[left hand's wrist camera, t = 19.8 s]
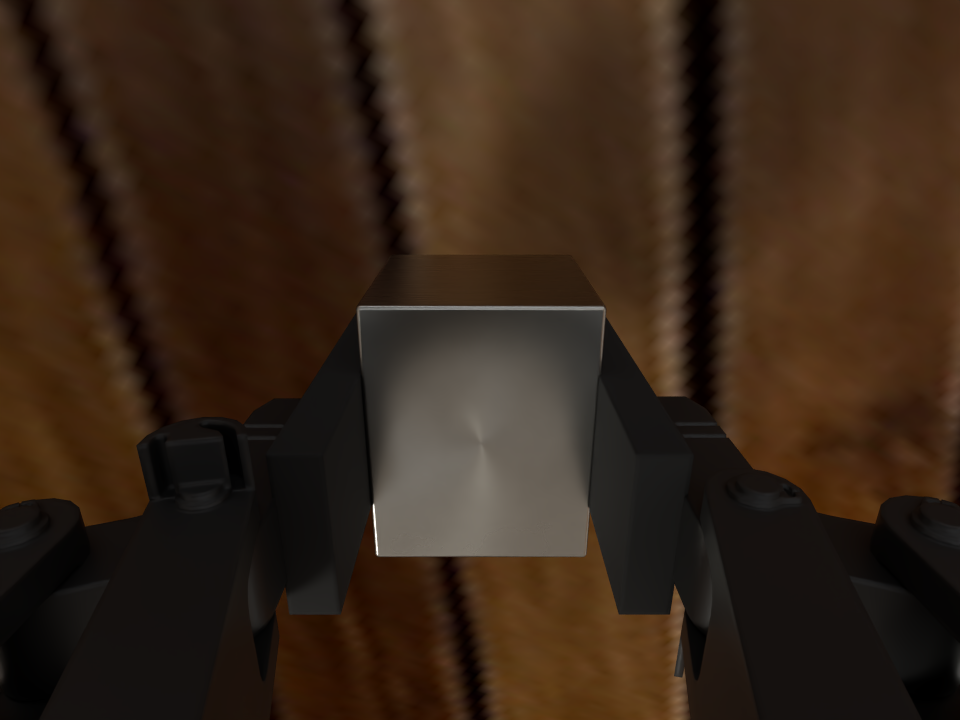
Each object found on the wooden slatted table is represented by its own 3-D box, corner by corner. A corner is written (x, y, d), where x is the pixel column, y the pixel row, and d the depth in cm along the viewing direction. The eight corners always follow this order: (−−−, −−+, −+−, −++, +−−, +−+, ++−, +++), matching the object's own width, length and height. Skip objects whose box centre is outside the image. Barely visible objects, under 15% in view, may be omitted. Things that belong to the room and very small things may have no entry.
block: (560, 450, 16) (587, 558, 12) (400, 450, 16) (374, 558, 12) (572, 254, 14) (607, 306, 10) (390, 253, 14) (354, 305, 10)
